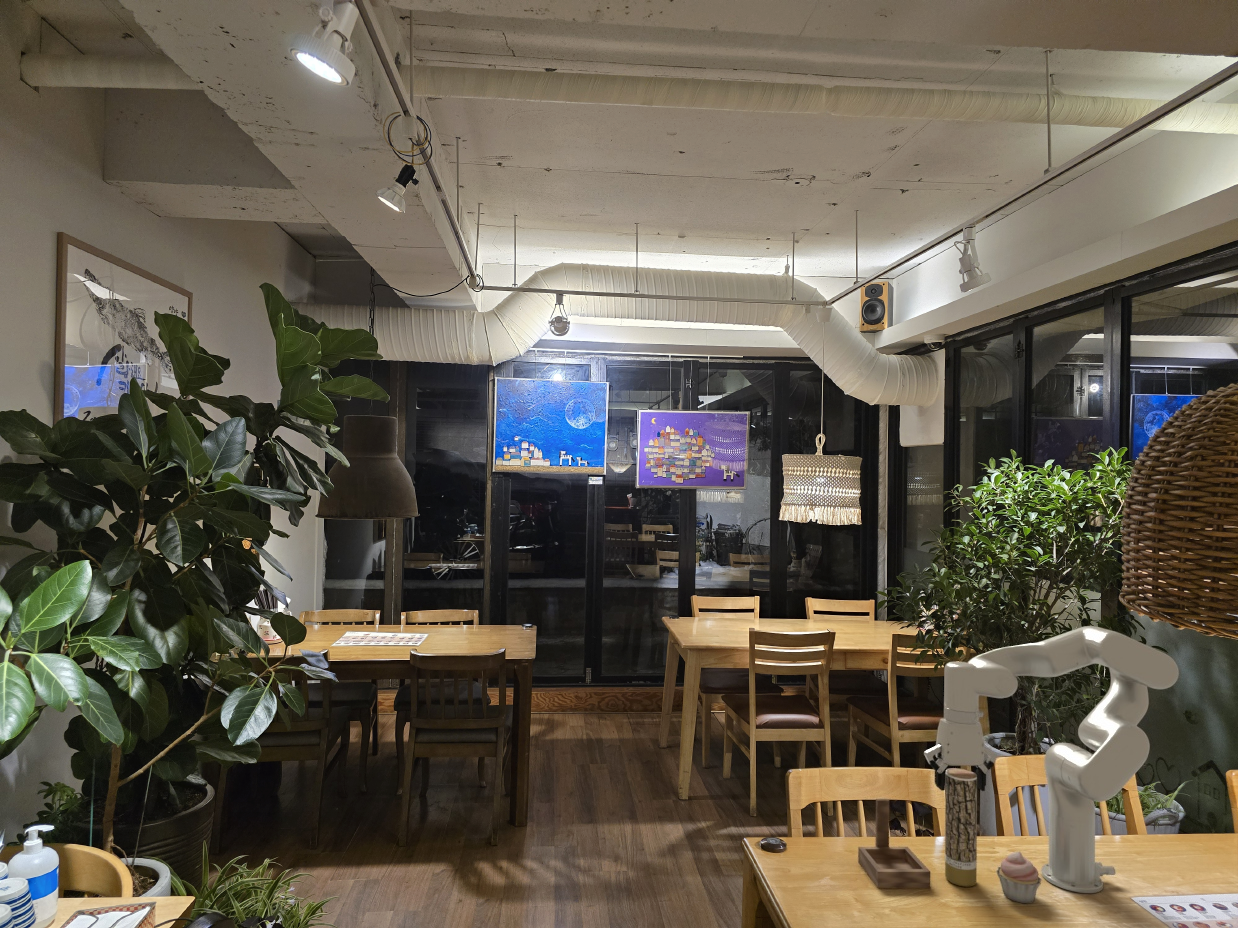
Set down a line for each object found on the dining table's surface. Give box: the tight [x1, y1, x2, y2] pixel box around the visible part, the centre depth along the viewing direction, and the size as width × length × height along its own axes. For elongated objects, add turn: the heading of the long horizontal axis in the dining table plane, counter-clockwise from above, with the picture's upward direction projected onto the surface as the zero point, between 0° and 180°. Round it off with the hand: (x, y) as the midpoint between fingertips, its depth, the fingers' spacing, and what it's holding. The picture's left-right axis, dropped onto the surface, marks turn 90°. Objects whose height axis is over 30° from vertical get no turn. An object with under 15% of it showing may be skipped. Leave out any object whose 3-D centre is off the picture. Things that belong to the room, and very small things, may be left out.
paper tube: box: [944, 767, 978, 888], centre depth 180 cm, size 7×7×25 cm
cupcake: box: [995, 850, 1043, 904], centre depth 173 cm, size 9×9×10 cm
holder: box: [857, 798, 931, 889], centre depth 183 cm, size 12×13×15 cm
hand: (960, 788), depth 181 cm, fingers open, 9 cm apart
